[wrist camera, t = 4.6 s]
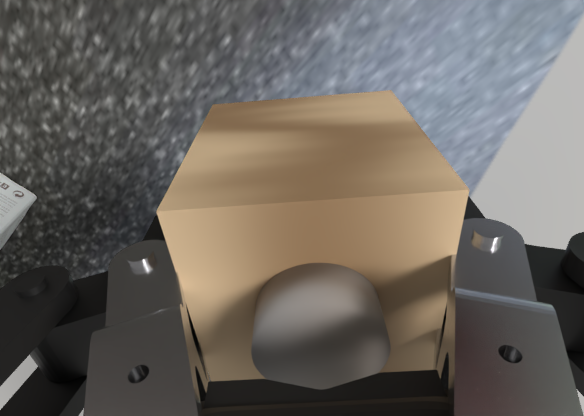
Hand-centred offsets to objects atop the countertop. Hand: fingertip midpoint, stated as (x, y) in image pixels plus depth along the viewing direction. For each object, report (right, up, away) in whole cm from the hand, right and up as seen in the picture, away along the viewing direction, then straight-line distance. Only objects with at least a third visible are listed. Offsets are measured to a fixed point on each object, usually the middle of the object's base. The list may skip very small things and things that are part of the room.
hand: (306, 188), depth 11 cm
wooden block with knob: (0, 0, +1) cm, 1 cm away
